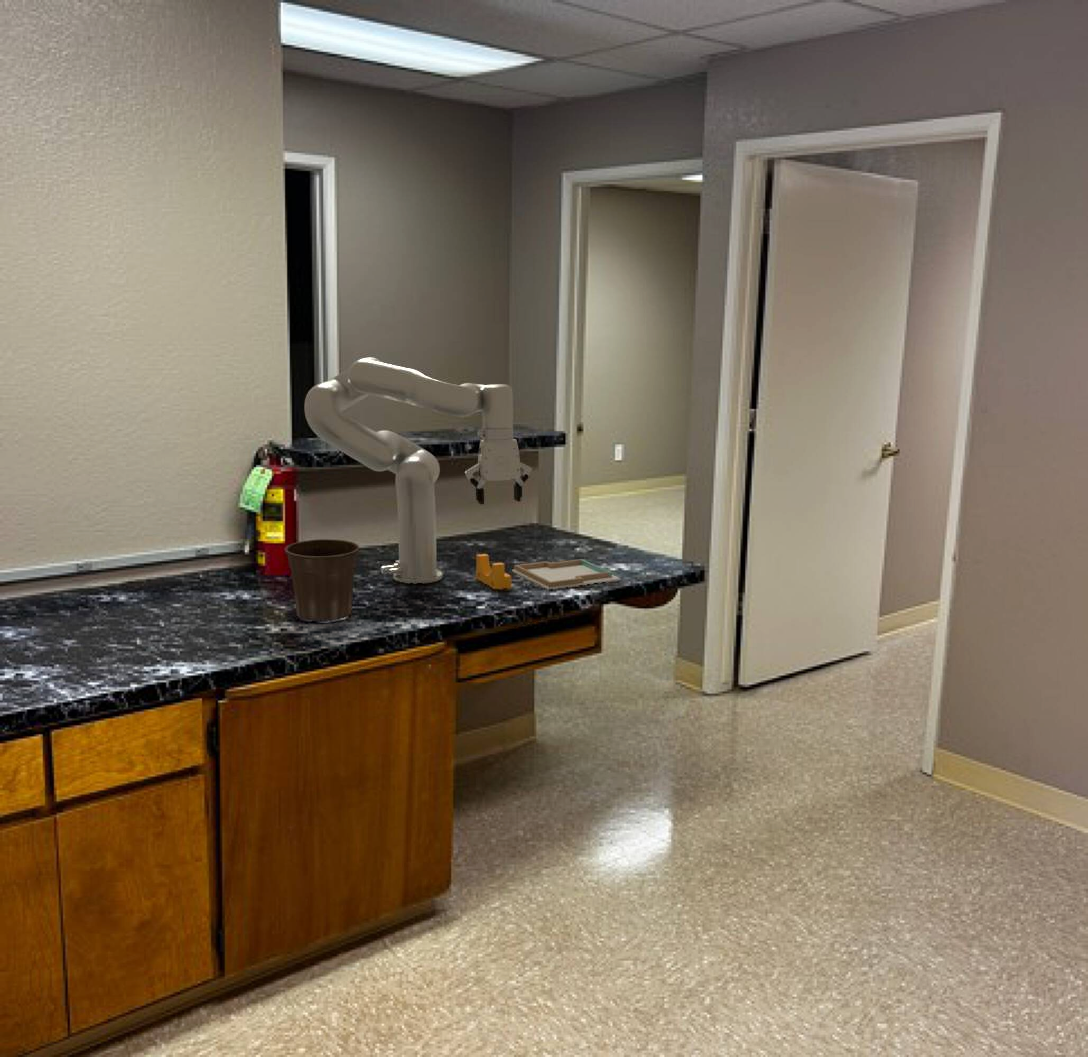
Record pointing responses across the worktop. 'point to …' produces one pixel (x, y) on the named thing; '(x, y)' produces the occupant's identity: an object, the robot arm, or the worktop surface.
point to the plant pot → (322, 578)
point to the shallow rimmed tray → (564, 573)
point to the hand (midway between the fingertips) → (499, 502)
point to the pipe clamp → (492, 573)
